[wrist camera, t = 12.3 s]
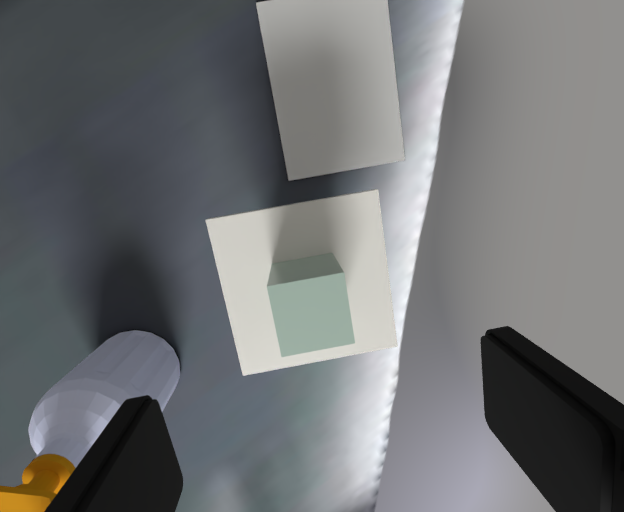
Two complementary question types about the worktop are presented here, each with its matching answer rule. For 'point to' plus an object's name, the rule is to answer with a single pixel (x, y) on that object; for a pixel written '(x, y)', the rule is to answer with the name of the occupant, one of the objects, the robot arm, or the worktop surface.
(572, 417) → the robot arm
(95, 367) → the soap bottle
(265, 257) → the lid
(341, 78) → the mat
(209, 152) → the worktop surface
